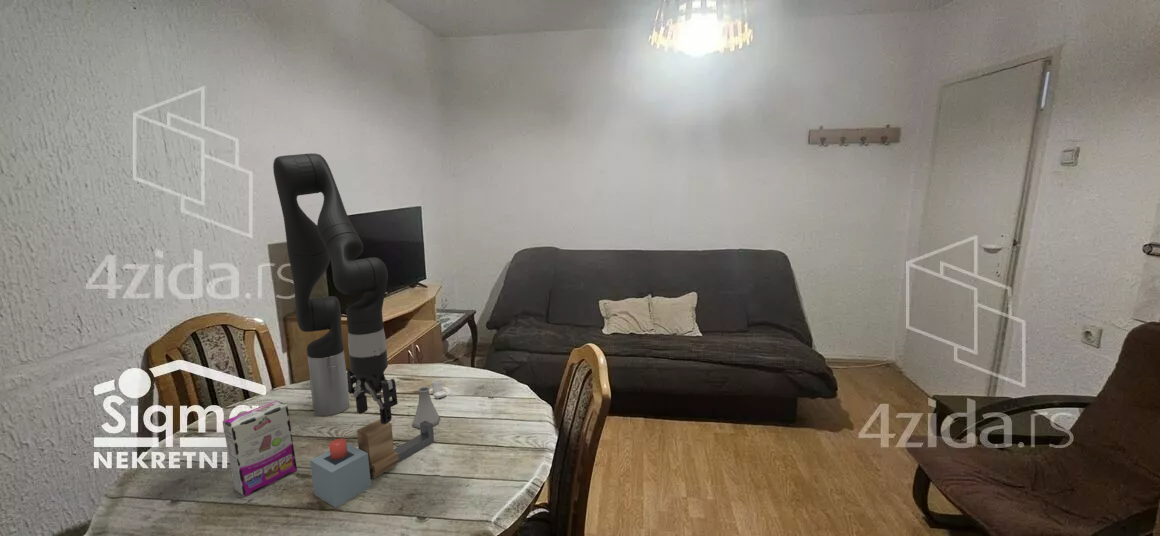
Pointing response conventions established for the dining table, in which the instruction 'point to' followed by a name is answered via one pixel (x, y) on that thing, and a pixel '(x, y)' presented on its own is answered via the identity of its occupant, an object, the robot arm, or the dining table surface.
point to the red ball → (338, 449)
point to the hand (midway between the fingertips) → (374, 417)
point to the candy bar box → (260, 447)
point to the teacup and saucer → (439, 389)
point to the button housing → (340, 476)
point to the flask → (425, 409)
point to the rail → (415, 442)
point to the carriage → (378, 446)
